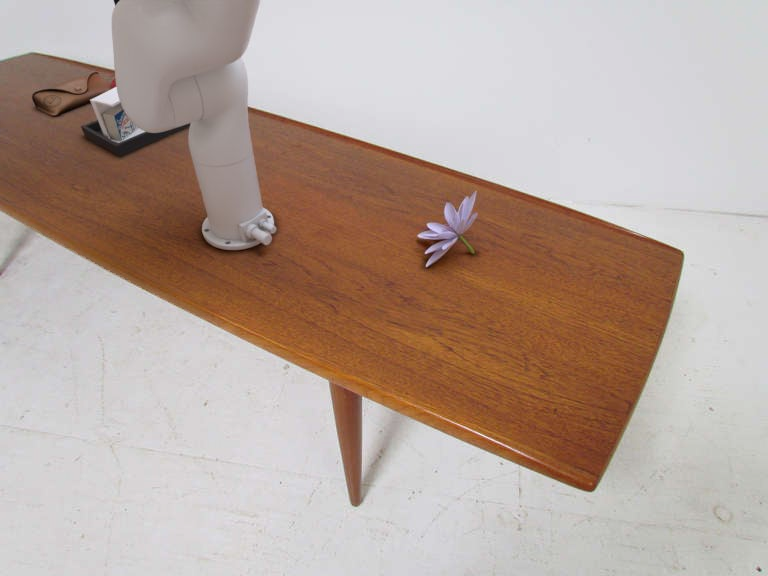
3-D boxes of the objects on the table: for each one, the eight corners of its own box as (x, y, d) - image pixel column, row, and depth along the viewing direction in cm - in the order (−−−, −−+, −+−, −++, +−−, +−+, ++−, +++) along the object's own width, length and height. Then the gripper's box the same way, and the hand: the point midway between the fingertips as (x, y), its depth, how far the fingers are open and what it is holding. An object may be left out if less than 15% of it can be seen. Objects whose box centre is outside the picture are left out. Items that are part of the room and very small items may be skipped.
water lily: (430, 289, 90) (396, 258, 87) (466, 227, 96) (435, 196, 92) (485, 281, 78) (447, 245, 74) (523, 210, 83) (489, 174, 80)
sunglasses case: (55, 115, 117) (35, 88, 114) (47, 123, 122) (28, 96, 119) (121, 90, 128) (105, 64, 125) (111, 97, 133) (95, 72, 130)
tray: (209, 117, 120) (206, 107, 118) (120, 157, 106) (116, 146, 104) (173, 101, 125) (171, 91, 124) (85, 137, 112) (80, 126, 110)
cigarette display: (126, 147, 108) (110, 105, 101) (106, 141, 109) (89, 99, 103) (186, 109, 121) (176, 70, 115) (167, 105, 123) (156, 66, 116)
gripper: (10, -133, 73) (60, -3, 85) (74, -121, 66) (119, 19, 78) (60, -136, 78) (101, -12, 90) (125, -125, 71) (160, 8, 83)
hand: (109, 2), depth 84 cm, fingers open, 9 cm apart
